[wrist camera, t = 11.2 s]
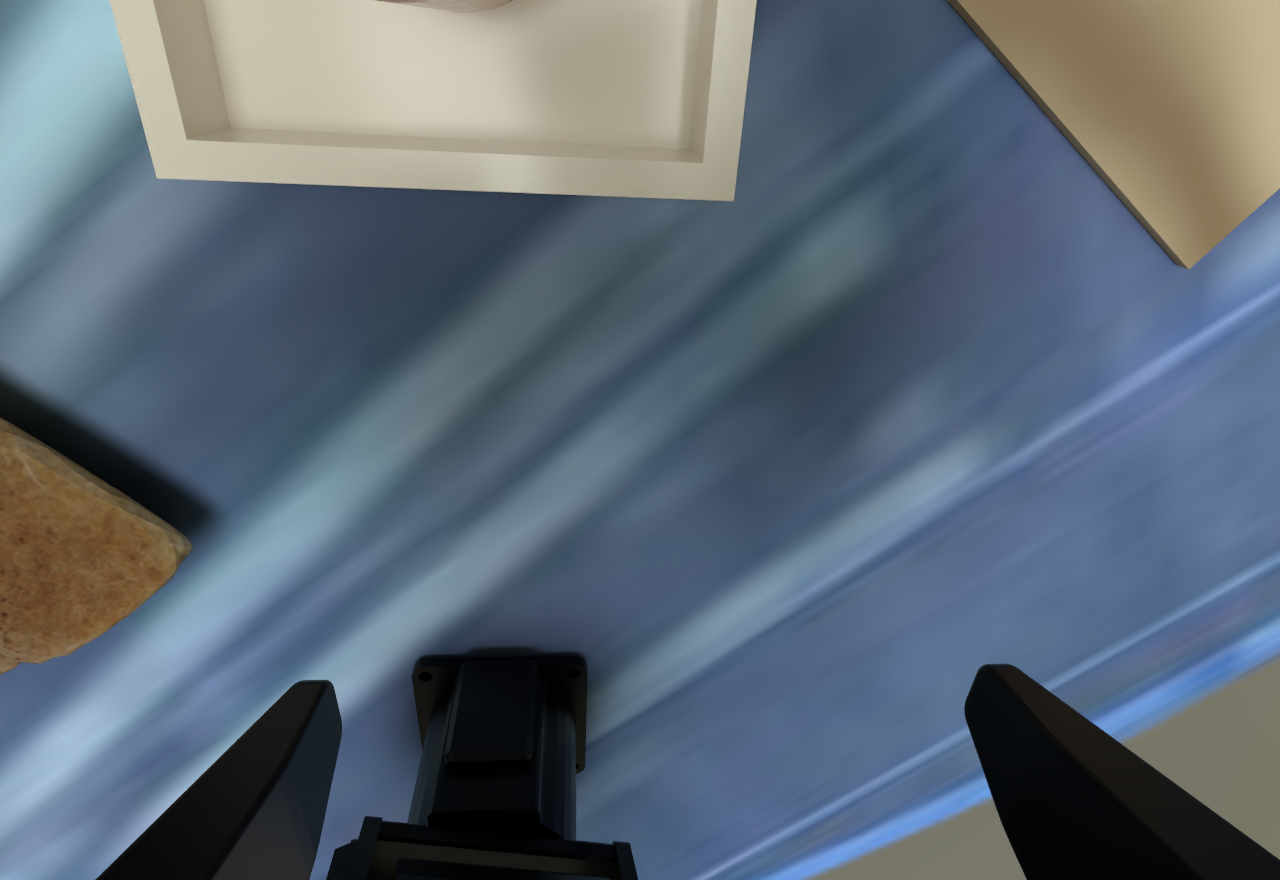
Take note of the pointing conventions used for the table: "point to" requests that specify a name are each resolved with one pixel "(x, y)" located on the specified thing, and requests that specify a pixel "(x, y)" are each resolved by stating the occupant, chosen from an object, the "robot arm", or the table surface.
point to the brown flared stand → (70, 552)
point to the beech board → (1155, 101)
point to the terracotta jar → (453, 4)
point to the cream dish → (445, 93)
